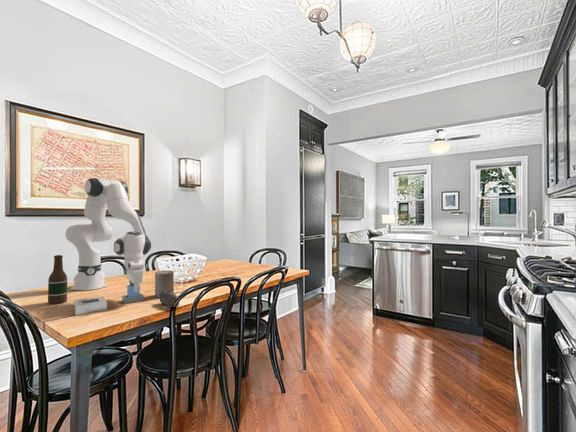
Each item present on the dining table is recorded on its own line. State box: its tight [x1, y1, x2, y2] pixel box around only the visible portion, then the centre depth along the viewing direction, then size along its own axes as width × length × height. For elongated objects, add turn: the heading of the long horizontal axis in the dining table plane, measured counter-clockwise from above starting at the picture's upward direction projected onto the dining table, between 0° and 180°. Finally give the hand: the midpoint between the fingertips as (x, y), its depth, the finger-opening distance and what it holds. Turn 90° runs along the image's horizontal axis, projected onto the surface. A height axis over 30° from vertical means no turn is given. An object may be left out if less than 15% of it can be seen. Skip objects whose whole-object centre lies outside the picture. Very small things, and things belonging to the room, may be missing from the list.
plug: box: [126, 283, 141, 298], centre depth 158 cm, size 4×5×9 cm
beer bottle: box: [47, 254, 68, 306], centre depth 155 cm, size 8×8×24 cm
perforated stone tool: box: [158, 290, 180, 309], centre depth 151 cm, size 15×5×7 cm, turn 47°
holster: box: [122, 293, 145, 305], centre depth 158 cm, size 7×9×3 cm
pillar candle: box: [154, 269, 175, 299], centre depth 170 cm, size 10×10×15 cm
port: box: [73, 296, 108, 316], centre depth 144 cm, size 12×12×4 cm
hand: (133, 289), depth 158 cm, fingers open, 8 cm apart
